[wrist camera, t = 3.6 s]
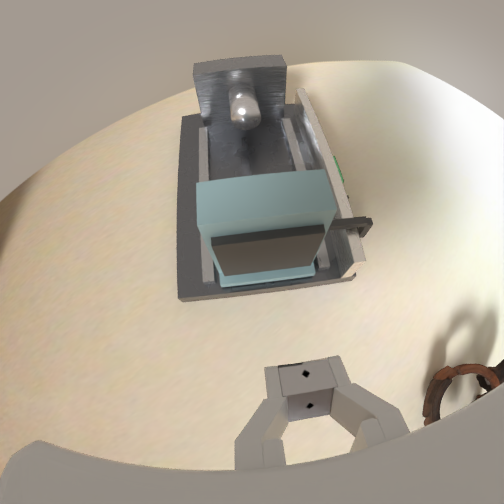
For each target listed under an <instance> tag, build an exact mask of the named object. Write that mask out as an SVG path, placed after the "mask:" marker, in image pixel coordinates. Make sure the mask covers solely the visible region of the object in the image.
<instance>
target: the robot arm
mask: <svg viewBox="0 0 504 504" xmlns="http://www.w3.org/2000/svg"><path fill="white" fill-rule="evenodd" d="M264 371H265V380H266V388H267V397H268V399H264V400H263V401H262V403H261V404H260V406H259V407H258V409H257V410H256V412H255V413H254V415H253V416H252V418H251V419H250V420H249V422H248V423H247V425H246V426H245V427H244V429H243V430H242V432H241V433H240V434H239V436H238V437H237V438H236V440H235V470H182V469H169V468H158V467H150V466H142V465H135V464H129V463H123V462H118V461H113V460H108V459H103V458H99V457H95V456H91V455H87V454H83V453H79V452H76V451H73V450H69V449H66V448H63V447H60V446H57V445H54V444H51V443H48V442H45V441H42V440H36V441H34V442H32V443H30V444H28V445H27V446H25V447H23V448H22V449H20V450H19V451H17V452H16V453H14V454H13V455H12V457H11V458H10V459H9V461H8V463H7V464H6V466H5V468H4V471H3V473H2V475H1V477H0V504H504V383H502V384H501V385H499V386H498V387H496V388H495V389H493V390H492V391H490V392H489V393H487V394H485V395H484V396H482V397H481V398H479V399H477V400H476V401H474V402H472V403H470V404H469V405H467V406H465V407H463V408H462V409H460V410H458V411H456V412H454V413H452V414H450V415H448V416H446V417H444V418H442V419H440V420H438V421H436V422H434V423H432V424H429V425H427V426H425V427H423V428H420V429H418V430H416V431H413V432H411V433H410V431H409V429H408V427H407V425H406V423H405V421H404V419H403V417H402V415H401V413H400V411H399V409H398V408H396V407H394V406H393V405H391V404H389V403H388V402H386V401H384V400H382V399H381V398H379V397H377V396H376V395H374V394H372V393H371V392H369V391H367V390H366V389H364V388H362V387H361V386H359V385H357V384H356V383H353V384H351V381H350V379H349V377H348V374H347V372H346V370H345V367H344V365H343V362H342V360H341V358H340V356H339V355H337V356H333V357H328V358H322V359H317V360H312V361H306V362H302V363H295V364H287V365H278V367H277V366H271V367H265V369H264ZM324 415H330V416H331V417H332V418H333V419H335V420H336V421H337V422H338V423H339V424H340V425H341V426H343V427H344V428H345V429H346V430H347V431H349V432H350V433H351V434H352V435H353V436H355V440H354V443H353V445H352V448H351V450H350V453H347V454H343V455H339V456H335V457H330V458H326V459H321V460H316V461H311V462H305V463H299V464H293V465H286V460H285V454H284V447H283V441H282V440H281V439H280V438H281V437H282V435H283V433H284V431H285V429H286V427H287V425H288V422H291V421H297V420H302V419H307V418H313V417H319V416H324Z"/></svg>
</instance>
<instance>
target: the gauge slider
mask: <svg viewBox="0 0 504 504" xmlns="http://www.w3.org/2000/svg"><path fill="white" fill-rule="evenodd" d="M196 202H197V227H198V229H199V231H200V233H201V235H202V238H203V240H204V242H205V244H206V246H207V248H208V251H209V253H210V255H211V257H212V259H213V261H214V263H215V265H216V268H217V270H218V272H219V276H220V285H221V287H230V286H238V285H247V284H255V283H263V282H271V281H279V280H286V279H294V278H301V277H309V276H314V275H315V268H314V263H313V261H314V259H315V257H316V255H317V253H318V251H319V249H320V247H321V244H322V242H323V240H324V238H325V236H326V233H327V231H330V230H339V229H348V228H357V227H359V228H358V233H359V237H360V238H361V237H364V236H365V235H366V234H367V232H368V231H369V229H370V228H371V227H372V225H373V222H372V219H371V218H366V216H365V217H354V218H344V219H334V220H333V218H334V216H335V213H336V211H337V207H336V204H335V201H334V197H333V194H332V191H331V188H330V185H329V182H328V178H327V175H326V172H325V169H320V170H305V171H292V172H281V173H270V174H260V175H251V176H243V177H234V178H227V179H219V180H212V181H205V182H198V183H196Z"/></svg>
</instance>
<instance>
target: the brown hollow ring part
mask: <svg viewBox="0 0 504 504" xmlns="http://www.w3.org/2000/svg"><path fill="white" fill-rule="evenodd" d="M468 373H476V374H478V375H477V377H476V378H477V380H478V381H479V384H480V386H481V387H482V388H484V389H485V390H486V391H487V393H489V392H490V391H492V390H493V389H495V388H496V387H498V386H499V385H501V384H502V383H504V360H502V361H501V362H500V363H499V364H498V365H497V366H496V367H488V368H487V367H485V366H483V365H481V364H462V365H458V366H456V367H454V368H451V367H449V366H446V367H445V368H443V369H441V370H440V371H439V372H438V373H436V374H435V376H434V377H433V378H434V379H433V380H432V381H431V382H430V385H429V387H428V390H427V393H426V397H425V401H424V406H423V414H422V415H423V417H426V419H425V421H424V425H425V426H427V425H429V424H432V423H434V422H436V421H438V420H440V404H441V400H442V397H443V395H444V393H445V391H446V389H447V388H448V386H449V385H450V384H451V382H452V378H453V377H455V376H457V375H464V374H468ZM487 393H484V394H482V395H478V396H477V399H479V398H481V397H482V396H484V395H485V394H487Z"/></svg>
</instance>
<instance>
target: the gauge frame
mask: <svg viewBox="0 0 504 504" xmlns="http://www.w3.org/2000/svg"><path fill="white" fill-rule="evenodd" d="M286 71H287V65H286V63H285V61H284V59H283V57H282V55H264V56H249V57H239V58H229V59H220V60H213V61H207V62H201V63H194V68H193V78H194V83H195V88H196V92H197V97H198V101H199V106H200V110H201V113H200V114H194V115H188V116H183V117H182V124H181V136H180V151H179V168H178V191H177V286H178V299H179V300H181V301H182V302H188V301H199V300H209V299H218V298H227V297H236V296H245V295H253V294H261V293H269V292H277V291H285V290H292V289H299V288H306V287H313V286H320V285H327V284H333V283H339V282H346V281H352V280H353V279H354V278H355V277H356V273H355V272H356V271H357V270H358V269H359V268H360V267H361V266H362V265H363V264H364V263H365V261H366V259H365V255H364V251H363V248H362V244H361V240H360V237H359V233H358V227H357V228H348V229H339V230H330V231H327V233H326V236H325V238H324V240H323V242H322V244H321V247H320V249H319V251H318V253H317V255H316V257H315V259H314V261H313V263H314V268H315V275H314V276H309V277H301V278H294V279H286V280H279V281H271V282H263V283H255V284H247V285H238V286H230V287H221V285H220V276H219V272H218V270H217V268H216V265H215V263H214V261H213V259H212V257H211V255H210V253H209V251H208V248H207V246H206V244H205V242H204V240H203V238H202V235H201V233H200V231H199V229H198V227H197V202H196V183H198V182H205V181H212V180H219V179H227V178H234V177H243V176H251V175H260V174H270V173H281V172H292V171H305V170H320V169H325V172H326V175H327V178H328V182H329V185H330V188H331V191H332V194H333V197H334V201H335V204H336V207H337V211H336V213H335V216H334V218H333V220H334V219H344V218H354V217H353V213H352V210H351V207H350V204H349V201H348V198H349V197H348V195H346V192H345V189H344V186H343V182H344V180H343V177H342V174H341V171H340V169H339V166H338V163H337V161H336V158H335V156H333V155H332V153H331V150H330V148H329V145H328V143H327V140H326V138H325V135H324V133H323V130H322V128H321V126H320V123H319V121H318V118H317V116H316V114H315V112H314V109H313V107H312V105H311V103H310V100H309V98H308V96H307V94H306V92H305V90H304V89H296V94H295V104H285V91H286Z"/></svg>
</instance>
